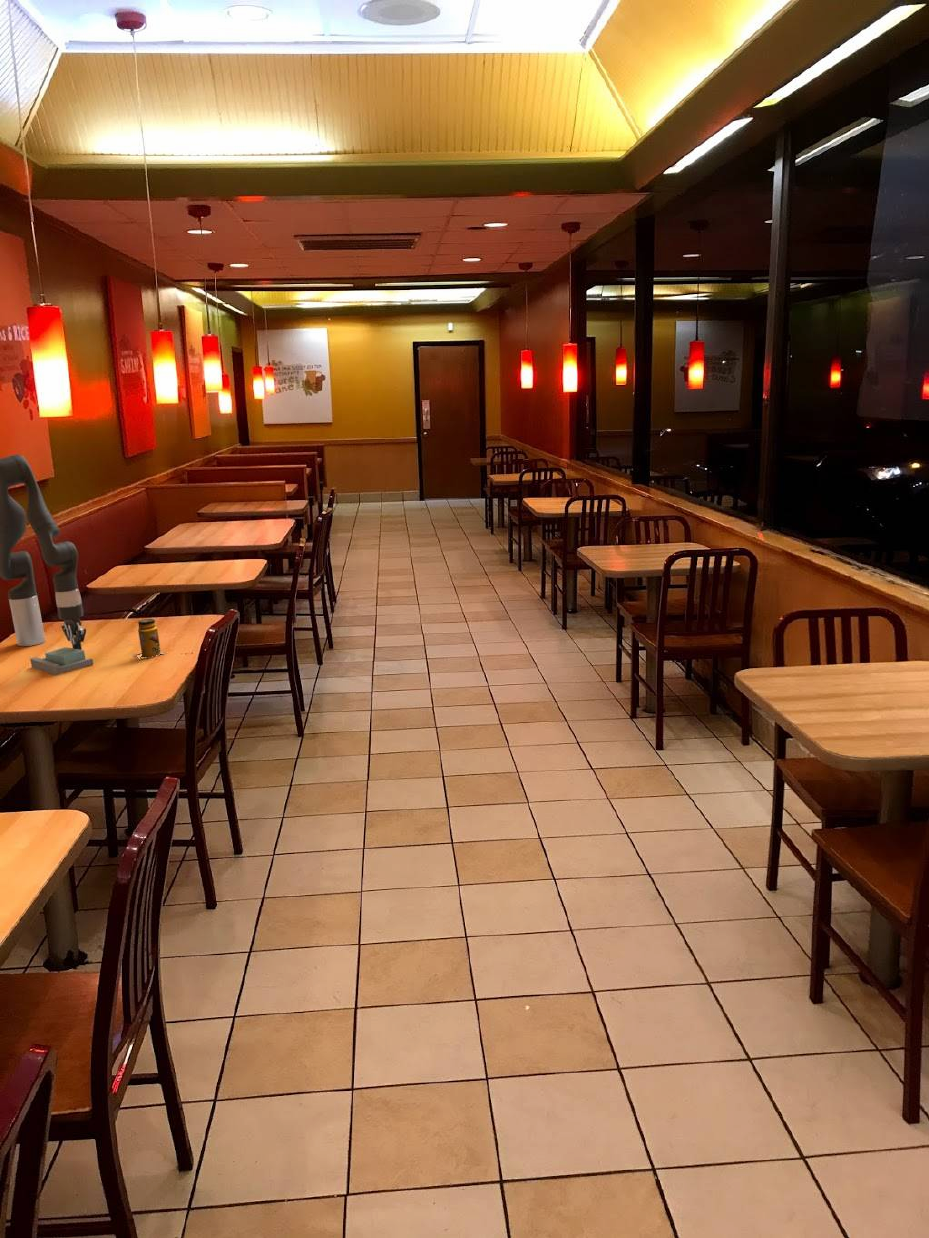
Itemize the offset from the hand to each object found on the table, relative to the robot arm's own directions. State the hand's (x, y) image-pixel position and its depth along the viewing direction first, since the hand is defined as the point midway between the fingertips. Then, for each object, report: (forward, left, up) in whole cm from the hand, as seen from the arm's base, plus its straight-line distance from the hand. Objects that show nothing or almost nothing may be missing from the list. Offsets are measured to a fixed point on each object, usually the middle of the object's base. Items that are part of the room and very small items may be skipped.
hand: (78, 654), depth 306 cm
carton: (+1, -5, -3) cm, 6 cm away
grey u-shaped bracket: (0, -6, -2) cm, 6 cm away
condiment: (+15, +17, -3) cm, 23 cm away
